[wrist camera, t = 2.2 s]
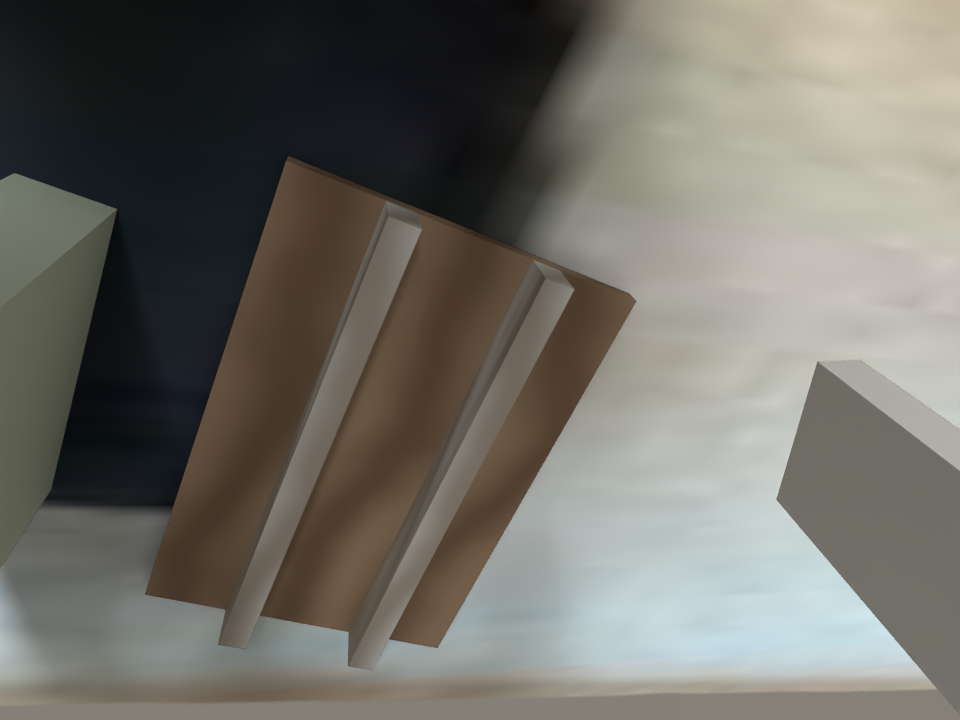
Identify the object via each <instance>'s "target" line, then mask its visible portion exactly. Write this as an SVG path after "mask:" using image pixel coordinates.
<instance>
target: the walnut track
mask: <svg viewBox="0 0 960 720" xmlns="http://www.w3.org/2000/svg"><path fill="white" fill-rule="evenodd" d="M635 303H636V300H635V299H634V298H633V297H632V296H631V295H630V294H629V293H626V292H624V291H621V290H619V289H616V288H614V287H611V286H609V285H606V284H604V283H601V282H599V281H596V280H594V279H592V278H589V277H587V276H584V275H582V274H579V273H577V272H574V271H572V270H569V269H567V268H564V267H562V266H559V265H557V264H554V263H552V262H549V261H547V260H545V259H542V258H540V257H537V256H535V255H532V254H530V253H527V252H525V251H522V250H520V249H517V248H515V247H512V246H510V245H507V244H505V243H502V242H500V241H497V240H495V239H493V238H490V237H488V236H485V235H483V234H480V233H478V232H475V231H473V230H470V229H468V228H465V227H463V226H460V225H458V224H455V223H453V222H450V221H448V220H446V219H443V218H441V217H438V216H436V215H433V214H431V213H428V212H426V211H423V210H421V209H418V208H416V207H413V206H411V205H408V204H406V203H403V202H401V201H399V200H396V199H394V198H391V197H389V196H386V195H384V194H381V193H379V192H376V191H374V190H371V189H369V188H366V187H364V186H361V185H359V184H356V183H354V182H352V181H349V180H347V179H344V178H342V177H339V176H337V175H334V174H332V173H329V172H327V171H324V170H322V169H319V168H317V167H314V166H312V165H309V164H307V163H305V162H302V161H300V160H297V159H295V158H292V157H290V156H288V158H287V160H286V163H285V166H284V169H283V172H282V175H281V178H280V181H279V184H278V187H277V190H276V193H275V197H274V200H273V203H272V206H271V209H270V212H269V215H268V218H267V221H266V224H265V227H264V230H263V233H262V236H261V239H260V243H259V246H258V249H257V252H256V255H255V258H254V261H253V264H252V267H251V270H250V273H249V276H248V279H247V282H246V285H245V289H244V292H243V295H242V298H241V301H240V304H239V307H238V310H237V313H236V316H235V319H234V322H233V325H232V328H231V332H230V335H229V338H228V341H227V344H226V347H225V350H224V353H223V356H222V359H221V362H220V365H219V368H218V371H217V374H216V378H215V381H214V384H213V387H212V390H211V393H210V396H209V399H208V402H207V405H206V408H205V411H204V414H203V417H202V420H201V424H200V427H199V430H198V433H197V436H196V439H195V442H194V445H193V448H192V451H191V454H190V457H189V460H188V463H187V466H186V470H185V473H184V476H183V479H182V482H181V485H180V488H179V491H178V494H177V497H176V500H175V503H174V506H173V509H172V512H171V516H170V519H169V522H168V525H167V528H166V531H165V534H164V537H163V540H162V543H161V546H160V549H159V552H158V555H157V559H156V562H155V565H154V568H153V571H152V574H151V577H150V580H149V583H148V586H147V589H146V592H145V595H150V596H156V597H161V598H167V599H172V600H178V601H183V602H189V603H194V604H199V605H205V606H210V607H216V608H221V609H226V611H225V616H224V620H223V625H222V629H221V634H220V638H219V643H218V645H223V646H229V647H235V648H241V649H246V647H247V644H248V642H249V639H250V637H251V635H252V632H253V630H254V628H255V625H256V623H257V620H258V618H259V616H265V617H271V618H276V619H282V620H287V621H293V622H298V623H303V624H309V625H314V626H320V627H325V628H331V629H336V630H342V631H347V632H349V646H348V666H350V667H356V668H362V669H368V670H373V668H374V666H375V664H376V662H377V660H378V659H379V657H380V655H381V653H382V651H383V649H384V647H385V645H386V644H387V642H388V640H389V639H391V640H397V641H402V642H408V643H413V644H418V645H424V646H429V647H435V648H438V646H439V644H440V643H441V641H442V639H443V637H444V636H445V634H446V632H447V630H448V629H449V627H450V625H451V623H452V622H453V620H454V618H455V616H456V615H457V613H458V611H459V610H460V608H461V606H462V604H463V603H464V601H465V599H466V597H467V596H468V594H469V592H470V590H471V589H472V587H473V585H474V583H475V582H476V580H477V578H478V576H479V575H480V573H481V571H482V569H483V568H484V566H485V564H486V562H487V561H488V559H489V557H490V555H491V554H492V552H493V550H494V548H495V547H496V545H497V543H498V541H499V540H500V538H501V536H502V535H503V533H504V531H505V529H506V528H507V526H508V524H509V522H510V521H511V519H512V517H513V515H514V514H515V512H516V510H517V508H518V507H519V505H520V503H521V501H522V500H523V498H524V496H525V494H526V493H527V491H528V489H529V487H530V486H531V484H532V482H533V480H534V479H535V477H536V475H537V473H538V472H539V470H540V468H541V467H542V465H543V463H544V461H545V460H546V458H547V456H548V454H549V453H550V451H551V449H552V447H553V446H554V444H555V442H556V440H557V439H558V437H559V435H560V433H561V432H562V430H563V428H564V426H565V425H566V423H567V421H568V419H569V418H570V416H571V414H572V412H573V411H574V409H575V407H576V405H577V404H578V402H579V400H580V399H581V397H582V395H583V393H584V392H585V390H586V388H587V386H588V385H589V383H590V381H591V379H592V378H593V376H594V374H595V372H596V371H597V369H598V367H599V365H600V364H601V362H602V360H603V358H604V357H605V355H606V353H607V351H608V350H609V348H610V346H611V344H612V343H613V341H614V339H615V337H616V336H617V334H618V332H619V331H620V329H621V327H622V325H623V324H624V322H625V320H626V318H627V317H628V315H629V313H630V311H631V310H632V308H633V306H634V304H635Z"/></svg>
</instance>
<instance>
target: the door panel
mask: <svg viewBox="0 0 960 720" xmlns="http://www.w3.org/2000/svg"><path fill="white" fill-rule="evenodd" d="M116 212H117V209H115V208H113V207H110V206H107V205H104V204H101V203H98V202H95V201H93V200H90V199H87V198H84V197H81V196H78V195H76V194H73V193H70V192H67V191H64V190H61V189H58V188H56V187H53V186H50V185H47V184H44V183H41V182H38V181H36V180H33V179H30V178H27V177H24V176H21V175H18V174H16V173H14V174H12V175H10V176H8V177H6V178H4V179H2V180H0V569H1V567H2V566H3V564H4V563H5V561H6V560H7V558H8V556H9V555H10V553H11V552H12V550H13V549H14V547H15V545H16V544H17V542H18V541H19V539H20V538H21V536H22V534H23V533H24V531H25V530H26V528H27V527H28V525H29V524H30V522H31V520H32V519H33V517H34V516H35V514H36V513H37V511H38V509H39V508H40V506H41V505H42V503H43V502H44V500H45V498H46V497H47V495H48V494H49V492H50V491H51V488H52V484H53V480H54V475H55V471H56V467H57V463H58V458H59V454H60V450H61V446H62V441H63V437H64V433H65V429H66V424H67V420H68V416H69V412H70V407H71V403H72V399H73V395H74V390H75V386H76V382H77V378H78V374H79V369H80V365H81V361H82V357H83V352H84V348H85V344H86V340H87V335H88V331H89V327H90V323H91V318H92V314H93V310H94V306H95V301H96V297H97V293H98V289H99V284H100V280H101V276H102V272H103V267H104V263H105V259H106V255H107V250H108V246H109V242H110V238H111V233H112V229H113V225H114V221H115V216H116Z"/></svg>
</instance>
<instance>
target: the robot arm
mask: <svg viewBox="0 0 960 720" xmlns="http://www.w3.org/2000/svg"><path fill="white" fill-rule="evenodd" d="M777 501H778V502H779V503H780V504H781V506H782V507H783V508H784V509H785V510H786V511H787V513H788V514H789V515H790V516H791V517H792V518H793V520H794V521H795V522H796V523H797V524H798V526H799V527H800V528H801V529H802V530H803V531H804V533H805V534H806V535H807V536H808V537H809V538H810V540H811V541H812V542H813V543H814V544H815V546H816V547H817V548H818V549H819V550H820V551H821V553H822V554H823V555H824V556H825V557H826V558H827V560H828V561H829V562H830V563H831V564H832V566H833V567H834V568H835V569H836V570H837V571H838V573H839V574H840V575H841V576H842V577H843V578H844V580H845V581H846V582H847V583H848V584H849V586H850V587H851V588H852V589H853V590H854V591H855V593H856V594H857V595H858V596H859V597H860V598H861V600H862V601H863V602H864V603H865V604H866V606H867V607H868V608H869V609H870V610H871V611H872V613H873V614H874V615H875V616H876V617H877V618H878V620H879V621H880V622H881V623H882V624H883V626H884V627H885V628H886V629H887V630H888V631H889V633H890V634H891V635H892V636H893V637H894V638H895V640H896V641H897V642H898V643H899V644H900V645H901V647H902V648H903V649H904V650H905V651H906V653H907V654H908V655H909V656H910V657H911V658H912V660H913V661H914V662H915V663H916V664H917V665H918V667H919V668H920V669H921V670H922V671H923V673H924V674H925V675H926V676H927V677H928V678H929V680H930V681H931V682H932V683H933V684H934V685H935V687H936V688H937V689H938V690H939V691H940V692H941V694H942V695H943V696H944V697H945V698H946V699H947V701H948V702H949V703H950V704H951V705H952V706H953V708H954V709H955V710H956V711H957V713H958V714H959V715H960V429H959V428H958V427H956V426H955V425H953V424H952V423H951V422H949V421H948V420H946V419H945V418H943V417H942V416H941V415H939V414H938V413H936V412H935V411H933V410H932V409H931V408H929V407H928V406H926V405H925V404H923V403H922V402H920V401H919V400H918V399H916V398H915V397H913V396H912V395H910V394H909V393H908V392H906V391H905V390H903V389H902V388H900V387H899V386H898V385H896V384H895V383H893V382H892V381H890V380H889V379H888V378H886V377H885V376H883V375H882V374H880V373H879V372H878V371H876V370H875V369H873V368H872V367H870V366H869V365H868V364H866V363H865V362H863V361H862V360H844V361H819V362H817V365H816V368H815V372H814V375H813V378H812V382H811V385H810V389H809V392H808V395H807V399H806V402H805V405H804V409H803V412H802V415H801V419H800V422H799V426H798V429H797V432H796V436H795V439H794V442H793V446H792V449H791V452H790V456H789V459H788V463H787V466H786V469H785V473H784V476H783V479H782V483H781V486H780V489H779V493H778V496H777Z"/></svg>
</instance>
